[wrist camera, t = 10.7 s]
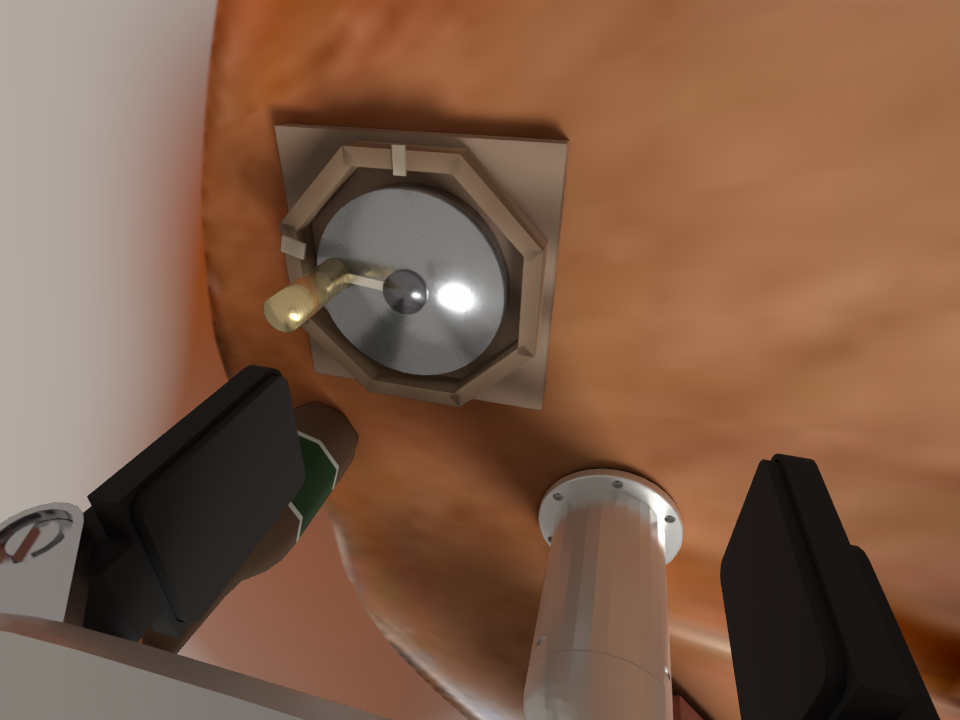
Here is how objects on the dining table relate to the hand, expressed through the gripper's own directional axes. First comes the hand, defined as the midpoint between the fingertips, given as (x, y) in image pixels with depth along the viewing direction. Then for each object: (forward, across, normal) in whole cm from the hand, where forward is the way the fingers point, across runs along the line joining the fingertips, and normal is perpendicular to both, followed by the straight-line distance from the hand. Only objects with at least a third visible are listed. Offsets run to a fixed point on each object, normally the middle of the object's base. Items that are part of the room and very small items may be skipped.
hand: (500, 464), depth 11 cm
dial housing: (+28, +12, +8) cm, 32 cm away
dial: (+27, +12, +8) cm, 30 cm away
